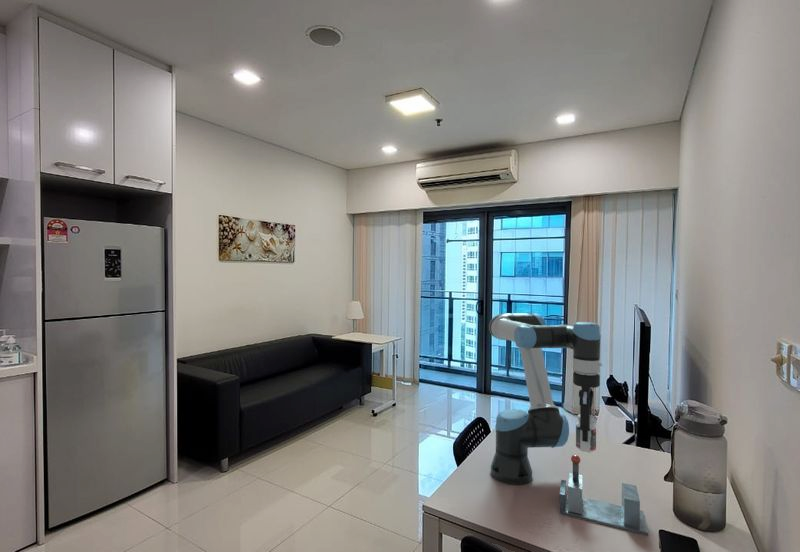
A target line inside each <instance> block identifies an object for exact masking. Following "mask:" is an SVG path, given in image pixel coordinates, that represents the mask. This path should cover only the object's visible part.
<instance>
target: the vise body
mask: <svg viewBox="0 0 800 552" xmlns="http://www.w3.org/2000/svg"><path fill="white" fill-rule="evenodd" d="M560 480H561V481H560V489H559V509H558V510H559V511H558V512H559V515H562V516H566V517H570V518H575V519H579V520H583V521H587V522H590V523H591V522H592V523H596V524H600V525H604V526H606V527H607V526H608V527H612V528H616V529H620V530H625V531H628V532H633V533H636V534H641V535H644V536H649V531H648V527H647V523H646V518H645V514H644V511H643V510H641V501H640V496H639V492H638V488H637V485H634V484H629V483H624V482H622V483H621V505H618V504H612V503H608V502H603V501H600V500H595V499H591V498H586V497H582V514H578V513H574V512H570V511H568V493H567V480H565V479H560Z"/></svg>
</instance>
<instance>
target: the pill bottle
mask: <svg viewBox="0 0 800 552" xmlns="http://www.w3.org/2000/svg"><path fill="white" fill-rule="evenodd" d="M577 420H578V421H577V422H576V423H575V447H576V448H577V449H578V450H580V430H579V429H578V427H580V413H579V414H577ZM593 422H594V423H593ZM596 449H597V427H596V424H595V416H593V415H590V453H593V452H595V451H596Z"/></svg>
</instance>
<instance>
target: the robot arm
mask: <svg viewBox="0 0 800 552" xmlns="http://www.w3.org/2000/svg"><path fill="white" fill-rule="evenodd" d="M488 330H489V333H490V335H491V336H492V337H494V338H495V339H498V340H500V341H511V342H513V343H514V344H515V346H516V347H517V348H518V349H519V350H520V355H521V361H522V365H523V366H522V367H523V372H524V376H525V382H526V387H527V388H526V389H527V393H528V398H529V404H530V407H529V408H528V410H527V411H525V410H522V409H517V408H516V409H514V408H513V409H505V410H503V411H501V412H499V413H497V415H496V421H495V453H494V456H493V458H492V462H491V464H490V474H491V476H492V477H493V478H494V479H496V480H497V481H499V482H502V483H504V484H505V483H506V484H509V485H525V484H528V483H530V482H531V481H532V480H533V469H532V466H531V462H530V459H529V457H528V456H529V455H528V452H529V451H528V449H531V448H552V449H553V448H561V447H564V446H565V445H566V444H567V442H568V441H569V440H568V439H569V437H570V425H569V420H568V418H567V417H566V415H565V414H563V413H560V408H559V407H558V406H557V405H556V404H554V399H553V395H552V392H551V391H552V390H551V387H550V381H549V376H548V372H547V367H546V363H545V358H544V354H543V349H571V350H573V351H572V352H573V353H572V356H573V357H572V371H573V373H572V374H573V375H572V382H573V384H574V386H578V387H581V389H579V391H578V398H579V403H578V404H579V407H580V409H579V411H580V412H579V414H580V427H578V429H579V430H580V449H579V451H580V452H586V453H591V452H590V415H592V414H593V413H592V412H593V411H592V407H593V402H594V395H595V394H594V390H593V389H594V388H598V387H600V386H601V379H600V378H601V375H600V374H599V373H600V371H601V370H600V367H602V366H603V363H602V362H600V361H601V359H600V357H601V330H600V325H599V324H598V323H597V322H590V321H589V322H588V321H577V322H574V323H573V325H572V324H569V323H568V324H563V323H562V324H559V325H557V324H556V325H547V324H546V320H545V319H544V318H543V316H542V315H540V314H539V313H532V312H527V313H526V312H525V313H524V312H522V313H517V312H516V313H515V312H513V313H511V312H506V313H505V312H504V313H500V314H497V315H495V316H494V317H493V318H491V320H490V321H489V324H488ZM592 416H593V415H592ZM593 423H594V424H595V421H594V422H593Z"/></svg>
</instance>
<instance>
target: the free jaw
mask: <svg viewBox="0 0 800 552" xmlns="http://www.w3.org/2000/svg"><path fill="white" fill-rule="evenodd" d="M570 460H571V462H572V472H569V473H568V485H567V486H568V487H567V489H568V491H567V494H568V511H570V512H574V513H578V514H582V498H583V474H579V473H580V471H579V469H580V465H579V464H580V463H581V458H580V456H579V455H577V454H573V455H572V456H571V458H570Z"/></svg>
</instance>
